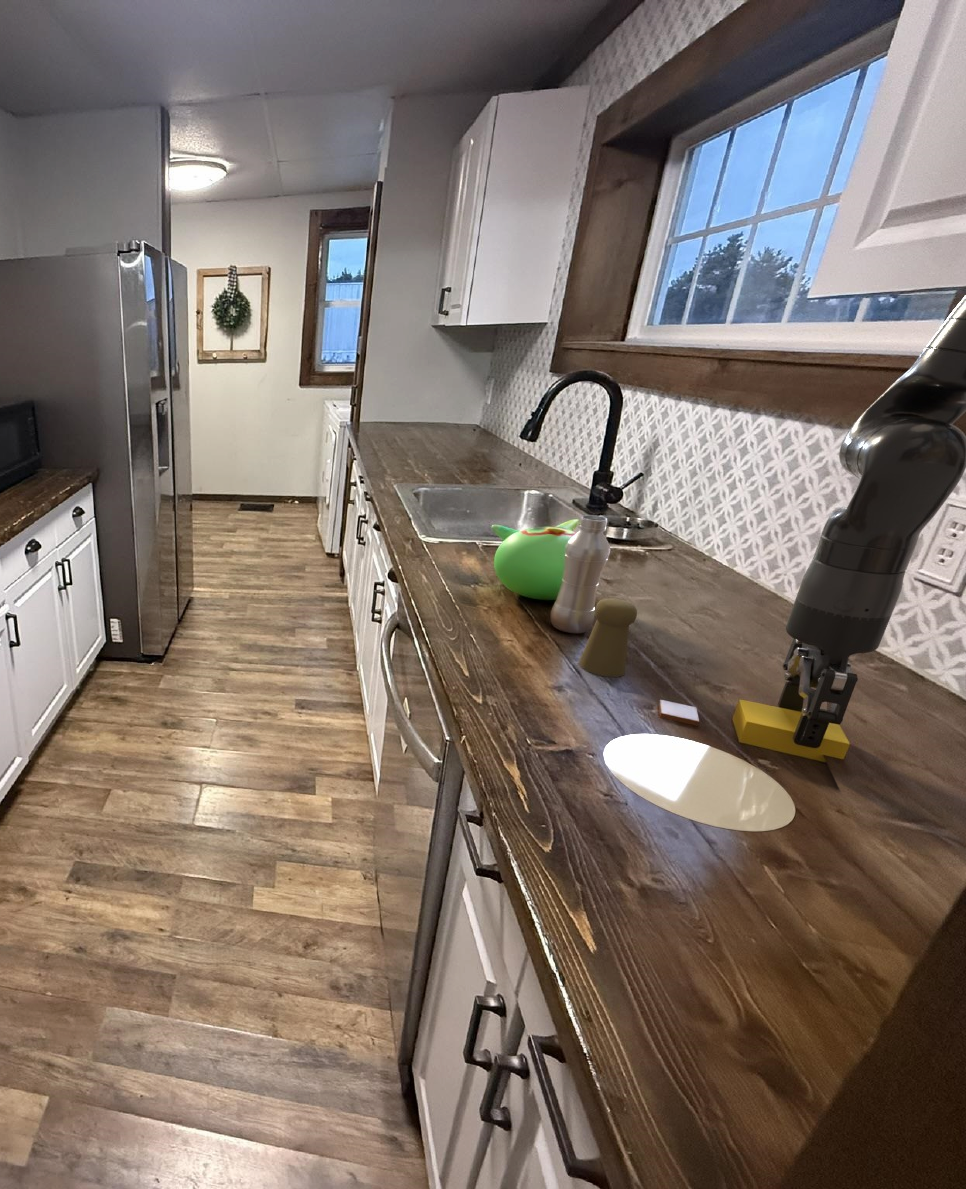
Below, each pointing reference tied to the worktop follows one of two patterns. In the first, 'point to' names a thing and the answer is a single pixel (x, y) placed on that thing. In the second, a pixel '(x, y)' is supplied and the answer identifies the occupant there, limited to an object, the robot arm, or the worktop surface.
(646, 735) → the plate
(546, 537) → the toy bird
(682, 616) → the worktop surface
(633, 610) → the cork
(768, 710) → the sponge
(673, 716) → the brown wooden tile
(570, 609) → the plastic bottle
